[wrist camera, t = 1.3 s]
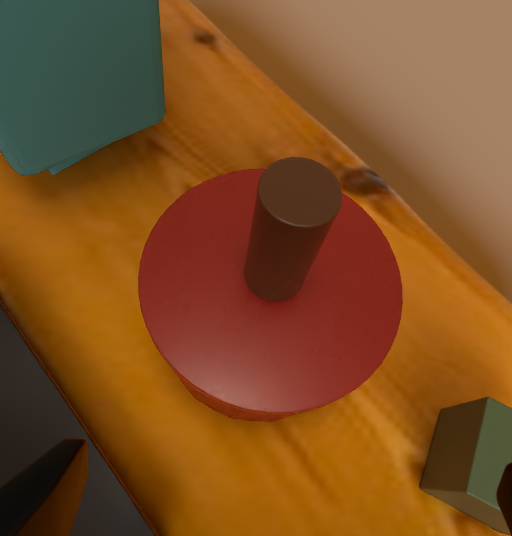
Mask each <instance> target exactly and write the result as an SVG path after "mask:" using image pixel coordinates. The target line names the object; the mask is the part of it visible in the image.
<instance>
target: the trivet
mask: <svg viewBox="0 0 512 536" xmlns="http://www.w3.org/2000/svg"><path fill="white" fill-rule="evenodd" d="M65 438H83V439H85V440H86V441H87V445H88V478H87V482H86V485H85V489H84V492H83V495H82V498H81V501H80V505H79V508H78V511H77V514H76V517H75V521H74V524H73V527H72V530H71V533H70V536H161V535H160V533H159V532H158V530H157V529H156V527H155V526H154V524H153V523H152V521H151V520H150V519H149V517H148V516H147V514H146V513H145V511H144V510H143V508H140V506H139V505H138V503H137V502H136V500H135V499H134V497H133V496H132V494H131V493H130V491H129V490H128V488H127V487H126V485H125V484H124V482H123V481H122V479H121V478H120V476H119V475H118V473H117V472H116V470H115V469H114V468H113V466H112V465H111V463H110V462H109V460H108V459H107V457H106V456H105V454H104V453H103V451H102V450H101V448H100V447H99V445H98V444H97V442H96V441H95V439H94V438H93V436H92V435H91V433H90V432H89V430H88V429H87V427H86V426H85V424H84V423H83V421H82V420H81V419H80V417H79V416H78V414H77V413H76V411H75V410H74V408H73V407H72V405H71V404H70V402H69V401H68V399H67V398H66V396H65V395H64V393H63V392H62V390H61V389H60V387H59V386H58V384H57V383H56V381H55V380H54V378H53V377H52V375H51V374H50V373H49V371H48V370H47V368H46V367H45V365H44V364H43V362H42V361H41V359H40V358H39V356H38V355H37V353H36V352H35V350H34V349H33V347H32V346H31V344H30V343H29V341H28V340H27V338H26V337H25V335H24V334H23V332H22V331H21V329H20V328H19V326H18V325H17V324H16V322H15V321H14V319H13V318H12V316H11V315H10V313H9V310H8V308H7V307H6V305H5V304H4V302H3V301H2V299H1V298H0V487H1V486H2V485H4V484H5V483H6V482H8V481H9V480H10V479H12V478H13V477H14V476H16V475H17V474H18V473H19V472H21V471H22V470H23V469H25V468H26V467H27V466H29V465H30V464H31V463H33V462H34V461H35V460H37V459H38V458H39V457H41V456H42V455H43V454H44V453H46V452H47V451H48V450H50V449H51V448H52V447H54V446H55V445H56V444H58V443H59V442H60V441H62V440H63V439H65Z"/></svg>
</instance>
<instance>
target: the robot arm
mask: <svg viewBox="0 0 512 536" xmlns="http://www.w3.org/2000/svg"><path fill="white" fill-rule="evenodd" d="M87 478H88V445H87V441H86V440H85V439H83V438H65V439H63V440H62V441H60V442H59V443H58V444H56V445H55V446H54V447H52V448H51V449H50V450H48V451H47V452H46V453H44V454H43V455H42V456H41V457H39V458H38V459H37V460H35V461H34V462H33V463H31V464H30V465H29V466H27V467H26V468H25V469H23V470H22V471H21V472H19V473H18V474H17V475H16V476H14V477H13V478H12V479H10V480H9V481H8V482H6V483H5V484H4V485H2V486H1V487H0V536H70V533H71V530H72V527H73V524H74V521H75V517H76V514H77V511H78V508H79V505H80V501H81V498H82V495H83V492H84V489H85V485H86V482H87ZM496 498H497V502H498V505H499V508H500V510H501V512H502V515H503V517H504V519H505V522H506V524H507V527H508V529H509V531H510V534H511V536H512V463H509V464H507V465H506V467H505V469H504V472H503V474H502V477H501V480H500V482H499V485H498V488H497V491H496Z"/></svg>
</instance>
